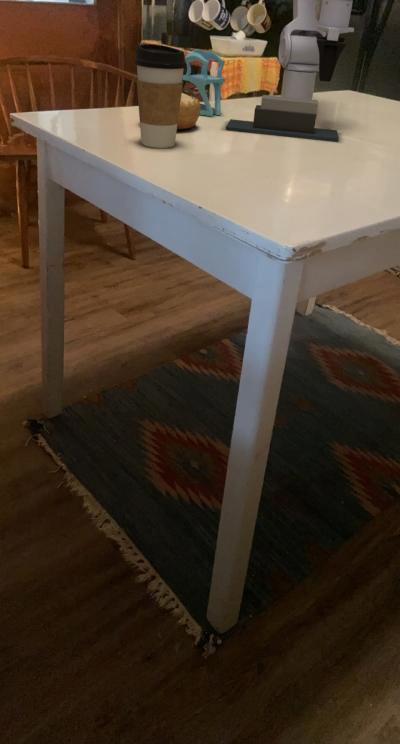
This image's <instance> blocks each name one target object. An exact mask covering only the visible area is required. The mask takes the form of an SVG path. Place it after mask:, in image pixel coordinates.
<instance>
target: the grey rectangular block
mask: <svg viewBox="0 0 400 744" xmlns="http://www.w3.org/2000/svg"><path fill="white" fill-rule="evenodd" d="M318 105H319V101H318V99H312V100H309V99H299V98H289V97H281V96H279V95H267V94H263V95H262V97H261V104H256V105H255V107H254V113H253V120H252V121H253V128H261V129H271V130H281V131H290V132H300V133H309V134H314V128H316V122H317V115H318V114H317V112H318Z"/></svg>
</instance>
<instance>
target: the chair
mask: <svg viewBox="0 0 400 744" xmlns="http://www.w3.org/2000/svg"><path fill="white" fill-rule="evenodd" d="M184 57H185V62H186V64H185V65H186V73H185V74H183V77H182V81H185V82H186V81H187V82H189V83H191V84H193V85H194V86H195V87H196V88H197V90H198V91H199V94H200V96H201V98H202V100H203V103H200V114H199V116H200V115H201V116H206V117H214V115H216V116H221V114H222V113H221V112H222V111H221V101H222V100H221V97H222V95H221V94H222V86H223V84H224V83H226V77H223V75H222V72H223V71H222V70H223V68H224V65H225V62H226V60H225V59H222V58H221V57H220V56H219V55H218V54H216V53H214V52H213V51H205V50H202V49H199V48H198V49H194V50H192V51H190V52H188V53H187V54H186V55H185V56H184ZM210 60H214V61H216V62H218V64H219V67H218V69H217V76H213V75H210V74H208V72H209V71H208V70H209V65H210ZM194 61H198V62H200V64H201V69H200V73H197V74H196V73H195V74H191V73H192V68H191V64H190V63H191V62H194ZM211 84H212V86H213V89H214V107H212V105H211V103H210V100H209V97H208V95H207V91H206V86H207V85H211Z"/></svg>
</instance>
